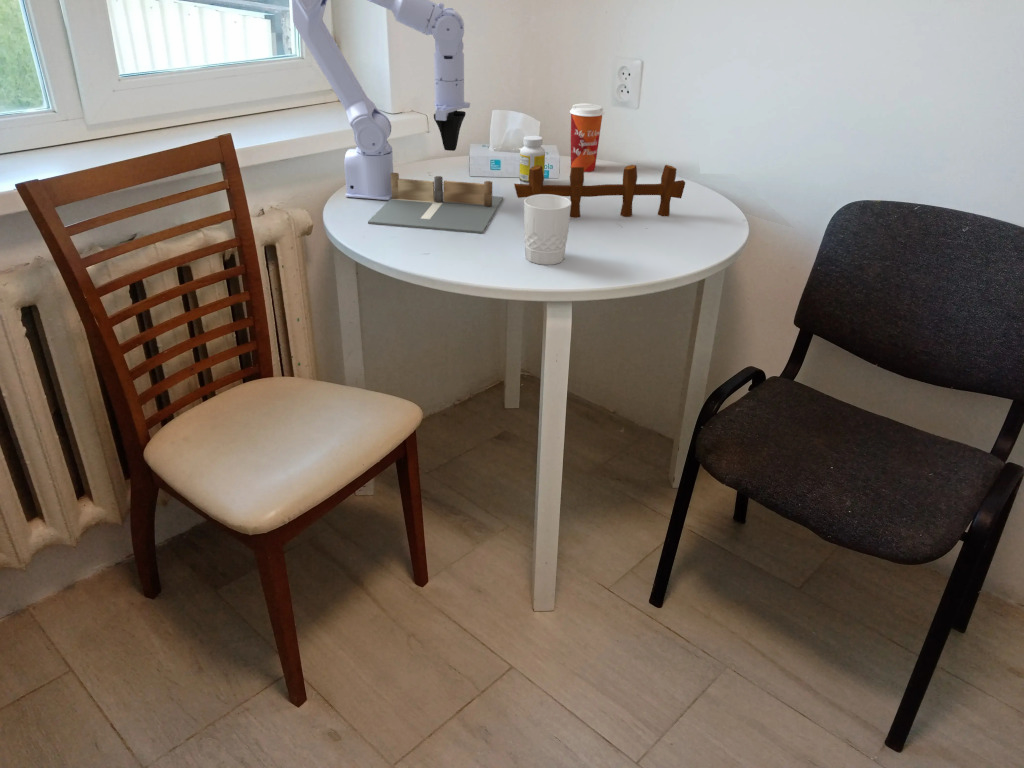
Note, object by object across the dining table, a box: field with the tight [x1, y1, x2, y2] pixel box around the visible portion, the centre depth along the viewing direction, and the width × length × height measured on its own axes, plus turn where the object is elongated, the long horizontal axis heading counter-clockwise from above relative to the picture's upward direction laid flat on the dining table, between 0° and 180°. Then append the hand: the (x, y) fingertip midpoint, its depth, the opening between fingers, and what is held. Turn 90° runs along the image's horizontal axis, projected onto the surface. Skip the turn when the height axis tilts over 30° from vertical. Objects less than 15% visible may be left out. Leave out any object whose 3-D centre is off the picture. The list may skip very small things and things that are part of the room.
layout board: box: [367, 190, 504, 235], centre depth 156 cm, size 22×21×1 cm
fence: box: [513, 164, 686, 219], centre depth 154 cm, size 34×3×10 cm, turn 97°
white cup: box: [523, 194, 571, 266], centre depth 134 cm, size 8×8×10 cm
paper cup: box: [569, 102, 605, 173], centre depth 181 cm, size 8×8×14 cm
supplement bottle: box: [519, 135, 546, 185], centre depth 171 cm, size 5×5×10 cm
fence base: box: [391, 172, 444, 203], centre depth 159 cm, size 11×2×5 cm, turn 80°
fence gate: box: [443, 180, 493, 206], centre depth 158 cm, size 10×2×5 cm, turn 80°
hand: (450, 149), depth 160 cm, fingers closed
